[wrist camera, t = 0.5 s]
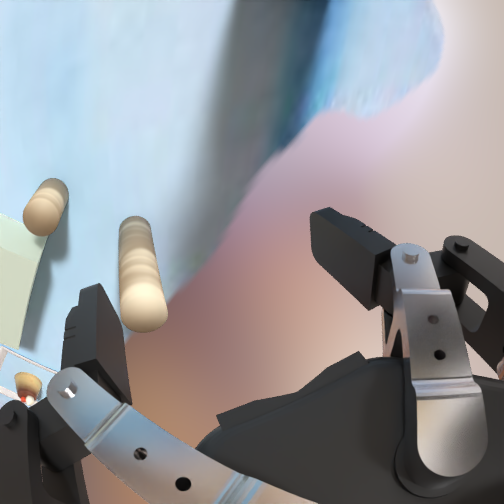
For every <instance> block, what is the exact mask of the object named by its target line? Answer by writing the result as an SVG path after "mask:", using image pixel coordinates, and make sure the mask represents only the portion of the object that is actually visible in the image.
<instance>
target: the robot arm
mask: <svg viewBox="0 0 504 504" xmlns="http://www.w3.org/2000/svg"><path fill="white" fill-rule="evenodd" d="M310 231H311V248H312V253H313V256H314V258H315V260H316V261H317V262H318V263H319V264H320V265H321V266H322V267H323V268H324V269H325V270H326V271H327V272H328V273H329V274H331V276H333V277H334V278H335V279H336V280H337V281H338V282H339V283H340V284H341V285H342V286H343V287H344V288H345V289H346V290H347V291H348V292H350V293H351V294H352V295H353V296H354V297H355V298H356V299H357V300H358V301H359V302H360V303H361V304H362V305H363V306H364V307H365V308H366V309H367V310H368V311H369V310H371V309H373V308H375V307H377V306H379V305H381V306H382V307H383V308H382V338H383V357H376V358H370V359H365V358H364V357H363V356H362V354H361V353H360V352H359V351H358V352H356V353H354V354H352V355H350V356H348V357H347V358H345V359H343V360H341V361H339V362H337V363H335V364H333V365H331V366H329V367H327V368H326V369H325V370H324V371H323V372H321V373H320V374H319V375H318V376H317V377H315V378H314V379H313V380H312V381H311V382H309V383H308V384H307V385H305V386H304V387H303V388H302V389H300V390H299V391H298V392H295V393H291V394H287V395H282V396H277V397H272V398H266V399H261V400H256V401H252V402H250V403H247V404H245V405H242V406H239V407H237V408H234V409H232V410H229V411H227V412H224V413H221V414H218V415H216V416H217V419H218V421H219V424H220V426H219V427H217V428H216V429H214V430H213V431H212V432H210V433H209V434H208V435H207V436H206V437H205V438H204V439H203V440H202V441H201V442H200V443H199V444H198V446H197V447H196V448H195V449H194V448H192V447H191V446H188V445H187V444H186V443H184V442H182V441H181V440H179V439H178V438H176V437H174V436H173V435H171V434H170V433H168V432H167V431H165V430H163V429H162V428H161V427H159V426H158V425H156V424H155V423H153V422H152V421H150V420H149V419H147V418H146V417H145V416H143V415H142V414H141V413H139V412H138V411H136V410H135V409H134V408H132V407H131V406H130V405H132V399H131V392H130V387H129V379H128V372H127V364H126V356H125V347H124V337H123V329H122V325H121V322H120V320H119V317H118V315H117V314H116V312H115V310H114V308H113V306H112V304H111V302H110V300H109V298H108V296H107V294H106V292H105V290H104V288H103V287H102V285H101V284H100V283H98V284H95V285H92V286H89V287H87V288H84V289H81V290H80V295H79V303H78V306H75V307H73V308H72V309H71V311H70V313H69V314H68V316H67V318H66V323H65V332H64V341H63V349H62V360H61V371H59V372H58V373H57V374H55V375H54V377H53V378H52V379H51V380H50V382H49V384H48V387H47V397H45V398H44V399H42V400H41V401H39V402H37V403H36V404H34V405H33V406H31V407H29V408H28V407H27V406H26V405H25V404H24V403H23V402H21V401H19V400H12V401H9V402H8V403H6V404H5V405H4V406H3V407H2V408H1V409H0V504H90V503H89V499H88V495H87V490H86V485H85V480H84V475H83V470H82V464H81V459H82V458H84V457H86V456H88V455H89V454H91V453H92V454H93V455H94V456H95V457H96V458H97V459H98V460H99V461H100V462H102V463H103V464H104V465H105V466H106V467H107V468H108V469H109V470H110V471H111V472H112V473H114V475H116V476H117V477H118V478H119V479H120V480H121V481H122V482H124V483H125V484H126V485H127V486H128V487H129V488H131V489H132V490H133V491H134V492H135V493H137V494H138V495H139V496H140V497H142V498H143V499H144V500H146V501H147V502H148V503H150V504H504V263H503V262H502V261H500V260H499V259H498V258H496V257H495V256H493V255H492V254H490V253H489V252H488V251H486V250H485V249H483V248H482V247H480V246H479V245H477V244H476V243H475V242H473V241H472V240H470V239H468V238H465V237H462V236H449V237H447V238H446V239H445V240H444V244H443V249H442V250H441V251H435V252H430V253H428V251H426V250H425V249H424V248H422V247H421V246H418V245H415V244H410V243H406V244H405V243H404V244H399V245H396V244H394V243H393V242H391V241H390V240H388V239H387V238H385V237H383V236H382V235H381V234H379V233H378V232H376V231H373V229H371V228H370V227H368V226H366V225H365V224H364V223H362V222H361V221H359V220H357V219H355V218H352V217H348V216H345V215H344V216H343V215H342V214H340V213H339V212H337V211H335V210H334V209H332V208H330V207H328V208H324V209H321V210H318V211H315V212H312V213H311V215H310ZM469 281H470V282H471V283H472V284H473V285H475V286H476V287H477V288H478V289H480V290H481V291H482V292H483V293H484V294H485V295H486V296H487V298H488V302H489V303H488V308H487V311H484V310H483V309H482V308H481V307H480V306H479V305H478V304H476V303H475V302H474V301H473V300H472V299H471V298H469V297H468V296H467V295H466V290H467V288H468V284H469ZM465 341H466V342H467V343H468V344H469V345H470V346H471V347H472V348H473V349H474V350H475V351H476V352H477V353H478V354H479V355H480V356H481V357H482V358H483V359H484V360H485V362H486V363H487V364H488V365H489V366H490V367H491V368H492V369H493V370H494V371H495V372H496V373H497V375H498V377H499V380H497V379H492V378H487V377H482V376H477V375H472V372H471V367H470V363H469V358H468V353H467V349H466V345H465ZM41 469H42V473H41ZM42 479H43V482H42Z"/></svg>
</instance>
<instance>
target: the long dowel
mask: <svg viewBox="0 0 504 504" xmlns="http://www.w3.org/2000/svg"><path fill="white" fill-rule="evenodd" d="M119 291H120V312H121V320H122V322H123V324H124V325H125V326H126V327H127V328H128V329H130V330H132V331H135V332H140V333H146V332H151V331H154V330H156V329H158V328H160V327H161V326H162V325H163V324H164V323H165V322H166V319H167V316H168V311H167V307H166V302H165V298H164V293H163V289H162V284H161V279H160V275H159V270H158V265H157V260H156V254H155V249H154V244H153V238H152V232H151V227H150V224H149V223H148V221H147V220H146V219H144V218H142V217H139V216H132V217H129V218H127V219H125V220H124V221H123V222H122V223H121V225H120V228H119Z"/></svg>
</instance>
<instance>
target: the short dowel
mask: <svg viewBox="0 0 504 504" xmlns="http://www.w3.org/2000/svg"><path fill="white" fill-rule="evenodd" d="M68 198H69V193H68V189H67V187H66V185H65V184H64V183H63V182H62V181H61V180H59V179H56V178H50V179H47V180H45V181H44V182H43V183H42V184H41V185H40V186H39V188H38V189H37V191H36V192H35V193H34V195H33V196H32V198H31V199H30V201H29V202H28V204H27V205H26V207H25V209H24V211H23V222H24V224H25V226H26V228H27V229H28V231H30V232H31V233H32V234H34V235H36V236H41V237H42V236H48V235H50V234H52V233H53V232H54V231H55V229H56V228H57V226H58V223H59V221H60V218H61V216H62V213H63V211H64V208H65V206H66V204H67V201H68Z"/></svg>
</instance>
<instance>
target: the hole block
mask: <svg viewBox="0 0 504 504" xmlns="http://www.w3.org/2000/svg"><path fill="white" fill-rule="evenodd" d="M47 238H48V236H42V237H41V236H36V235H34V234H32V233H31V232H30V231H28V229H27V228H26V226H25V224H23V223H21V222H19V221H17V220H14V219H12V218H10V217H8V216H6V215H3V214H1V213H0V343H1V344H4V345H6V346H9V347H12V348H14V349H17V350H19V345H20V340H21V336H22V331H23V327H24V322H25V318H26V314H27V309H28V305H29V300H30V296H31V292H32V288H33V284H34V281H35V277H36V273H37V270H38V266H39V263H40V260H41V256H42V253H43V250H44V247H45V244H46V241H47Z"/></svg>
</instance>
